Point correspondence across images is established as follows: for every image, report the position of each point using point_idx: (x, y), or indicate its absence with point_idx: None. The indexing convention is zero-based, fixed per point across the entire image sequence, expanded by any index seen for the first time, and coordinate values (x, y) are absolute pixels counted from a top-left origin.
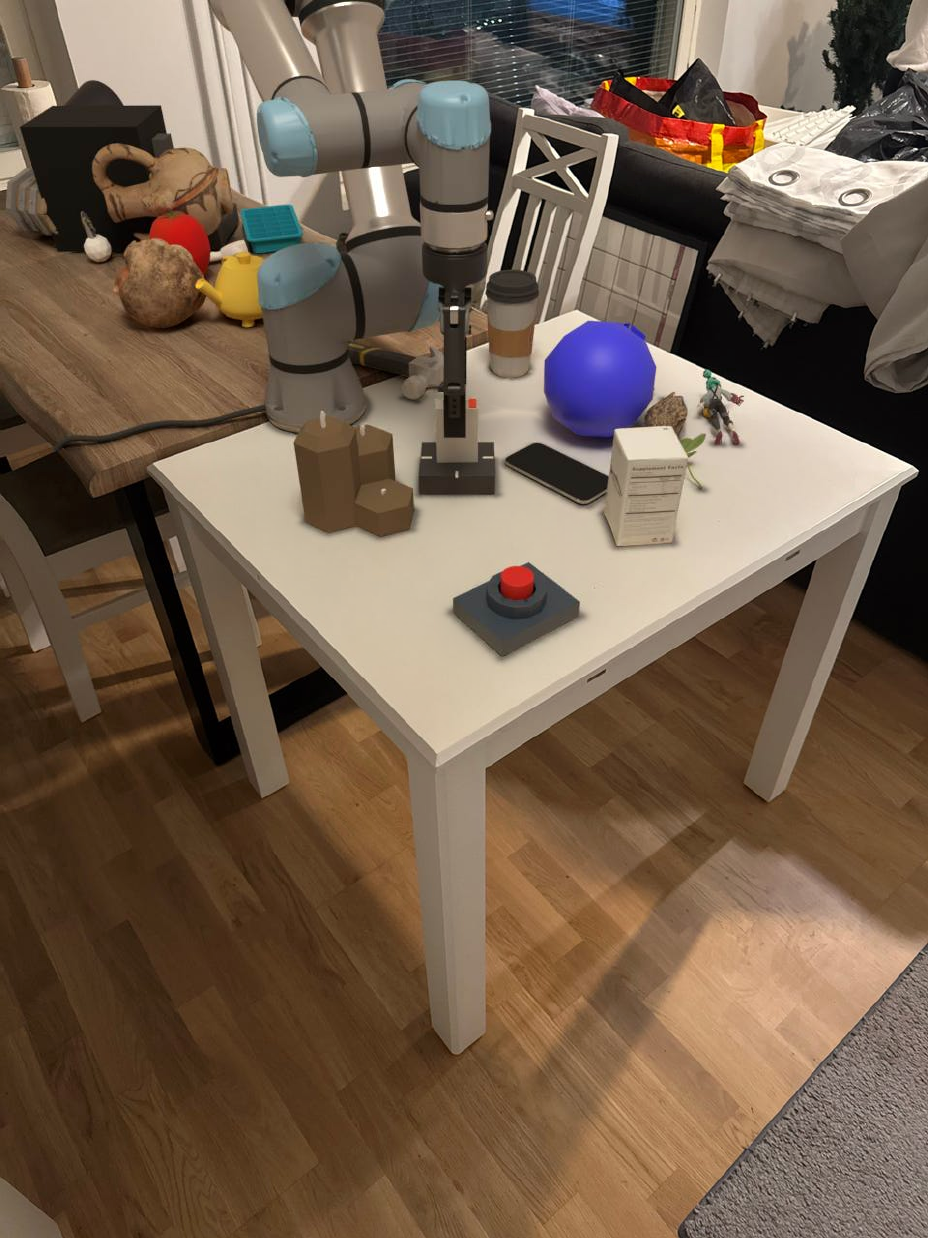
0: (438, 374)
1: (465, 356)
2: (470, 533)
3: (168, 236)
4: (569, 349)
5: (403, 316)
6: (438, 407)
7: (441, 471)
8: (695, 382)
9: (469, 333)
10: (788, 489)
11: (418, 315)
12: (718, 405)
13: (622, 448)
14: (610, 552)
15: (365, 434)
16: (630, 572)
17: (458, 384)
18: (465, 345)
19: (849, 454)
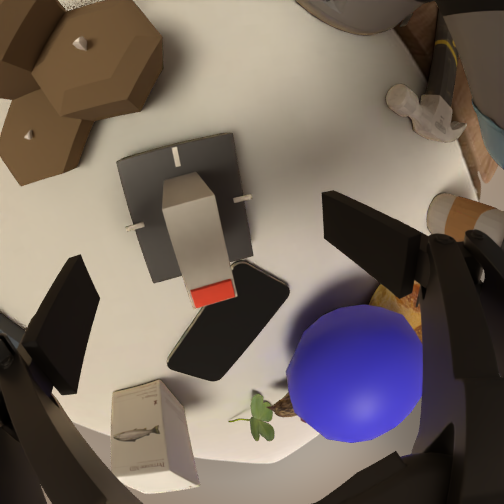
0: (427, 133)
1: (366, 268)
2: (59, 260)
3: None
4: (374, 395)
5: (492, 93)
6: (172, 215)
7: (138, 197)
8: None
9: (418, 302)
10: (243, 446)
11: (496, 124)
12: None
13: (131, 475)
14: (102, 388)
15: (86, 51)
16: (86, 400)
17: (1, 421)
18: (386, 285)
19: (290, 450)
